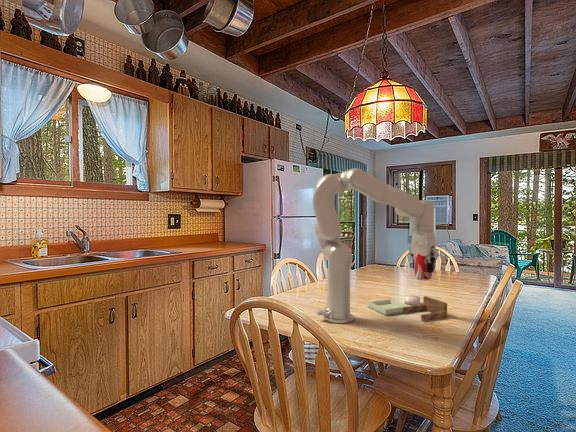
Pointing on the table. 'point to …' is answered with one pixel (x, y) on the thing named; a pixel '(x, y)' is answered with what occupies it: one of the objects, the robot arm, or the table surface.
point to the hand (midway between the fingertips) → (423, 270)
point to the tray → (386, 306)
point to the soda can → (421, 268)
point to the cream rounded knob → (412, 300)
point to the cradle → (429, 309)
